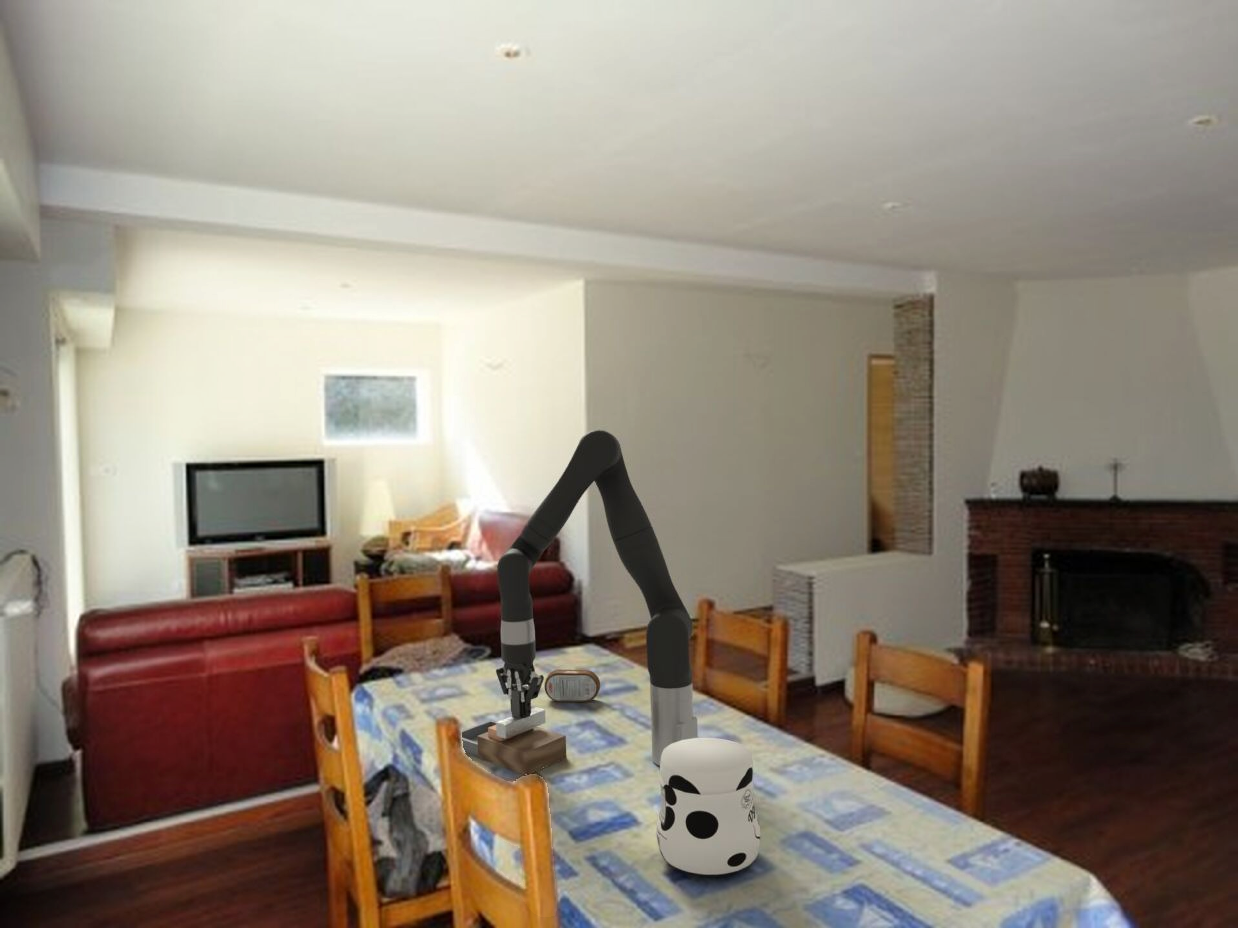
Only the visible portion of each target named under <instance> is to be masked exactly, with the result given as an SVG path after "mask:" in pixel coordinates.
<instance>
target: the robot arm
mask: <svg viewBox="0 0 1238 928" xmlns="http://www.w3.org/2000/svg"><path fill="white" fill-rule="evenodd" d="M626 467H627V466H626V464H625V460H624V455H623V453H622V447H621V444H620V442H619V440H618V439H617V437H616V436H615V435H614V434H612V433H611V432H608V431H607V430H604V429H593V430H590V431H588V432H586V433H585V434H584V435H583V436H582V437H581V438H580V440H579V442H578V445H577V446H576V448H575V450H574V452H573V454H572V456H571V459H570V460H569V462H568V464H567V466H566V468H565V469H564V471H563V473H562V475H561V476H560V477H559V479H558V481H557V482H556V483H555V485H554V487H552V489H551V490H550V491H549V492H548V494H547V495H546V497H545V498H544V499H543V500H542V501H541V503H540V505H538V507H537V508H536V510H535V511H534V512H533V514H532V515H531V516H530V518H529V519H528V521H526V523H525V525H524V526H523V528H522V530H521V533H520V534H519V536H518V537H517V538H516V539H515V540H514V541H513V543H512V544H511V545H510V546H509V548H508V549H507V550H506V552H504V554H503V555H502V556H501V557H500V558H499V559H498V562H497V566H496V567H497V568H496V569H497V571H496V572H497V581H498V589H499V595H500V615H501V616H500V617H501V618H500V620H501V622H500V645H501V646H500V647H501V661H502V662H503V663H504V664H503V667H502V666H501V667H499V668H496V669H495V673H496V676H497V679H498V682H499V684H500V688H501V690H502V693H503V695H505V696H508V698H509V699H510V712H511V713H512V699H511V690H513V689H516V688H518V691H519V692H520V698H521V701H522V702H521V717H522V718H527V717H529V716H530V714H531V709H532V700H534V699H537V698H538V696H539V695H540V694H539V693H540V691H541V689H542V685H543V682H544V678H545V677H544V675H543V674H540V675H539V674H538V673H536V670H535V666H534V661H535V659H536V655H537V654H536V630H535V623H534V612H533V607H534V606H533V597H532V595H531V592H530V573H531V571H532V569H533V568H534V566H536V564H537V562H538V561H539V559H541V558H540V557H541V556H542V554H543V553H544V552H545V550H546V549H547V548H549V546H550V545H551V543H553V541H554V540H555V539H556V537H557V536H558V534H559V533H560V531H562V529H563V528H564V526H565V525H566V523H567V521H568V519H569V518H570V517H571V515H572V514H573V511H574V510H575V508H576V506H577V504H578V503H579V502H580V500H581V498H582V497H583V495H584V494H585V493H586V491H587V490H588V488H589V487H590V486H592V484H593V483H594V482H595V485H596V487H597V489H598V491H599V494H600V497H601V501H602V503H603V508H604V512H605V517H606V521H607V527H608V531H609V532H610V536H611V540H612V541H613V545H614V547H615V549H616V552H617V554H618V556H619V559H620V561H621V563H622V565H623V566H624V568H625V570H626V571H627V573H628V574H629V575H630V577H631V579H633V581H634V582H635V584H636V585H637V587H638V588H639V590H640V591H641V594H642V595H643V598H644V601H645V603H646V607H647V610H648V612H649V617H650V620H649V622H648V624H647V627H646V633H645V644H646V660H647V661H646V662H647V663H646V664H647V671H648V675H649V682H650V683H649V685H650V688H649V689H650V690H649V691H650V692H649V693H650V721H651V722H650V726H651V727H650V728H651V729H650V730H651V753H652V754H651V757H652V762H653V763H654V764H655V765H657V766H659V767H660V762H661V755H662V752H663V750H664V748H666V747H667V746H669V745H670V744H672V743H675V742H678V741H681V740H686V739H692V738H699V736H698V717H697V716H694V706H693V705H694V704H693V701H694V700H693V699H694V698H693V693H694V692H693V670H692V668H691V665H690V643H689V641H690V639H691V638H692V634H693V621H692V618H691V616H690V614H689V612H688V610H687V608H686V606H685V605H684V603H683V601H682V599H681V597H680V594H679V593H678V591H677V590H676V588H675V586H674V583H673V580H672V578H671V576H670V573H669V569H668V568H669V567H668V566H667V563H666V560H665V556H664V555H663V551H662V549H661V547H660V543H659V541H658V540H659V539H658V538H657V535H656V533H655V530H654V528H653V525H652V522H651V521H650V518H649V517H648V514H647V512H646V510H645V508H644V506H643V503H642V502H641V501H640V498H639V496H638V494H637V493H636V491H635V489H634V487H633V484H632V482H631V479H630V477H629V472H628V470H627V468H626ZM526 690H527V695H525V691H526Z"/></svg>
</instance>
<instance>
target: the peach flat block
mask: <svg viewBox="0 0 1238 928" xmlns="http://www.w3.org/2000/svg"><path fill="white" fill-rule="evenodd" d="M516 735H517V734H516ZM516 735H514V736H516ZM488 737H491V738H494V739H497V740H500V741H503V740H506V739H508V738H506V739H505V738H502V737H499V736H497V732H496V725H494V726H491V727H489V728H488ZM511 737H513V736H511ZM511 737H509V738H511Z"/></svg>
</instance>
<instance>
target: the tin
mask: <svg viewBox="0 0 1238 928" xmlns="http://www.w3.org/2000/svg"><path fill="white" fill-rule="evenodd" d="M543 688H544V692H545V694H546V696H547V697H548V698H549V699H550V700H551V701H554V702H557V703H589V702H591V701H593V700H594V699H595V698H596V697H597V696H598V694H599V692H600V689H601V681H600V679H599V677H598V675H597V674H596V673H595V672H594V671H592V670H588V669H555V670H553V671H551V672H549V673H548V675H547V676H546V678H545V681H544V687H543Z"/></svg>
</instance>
